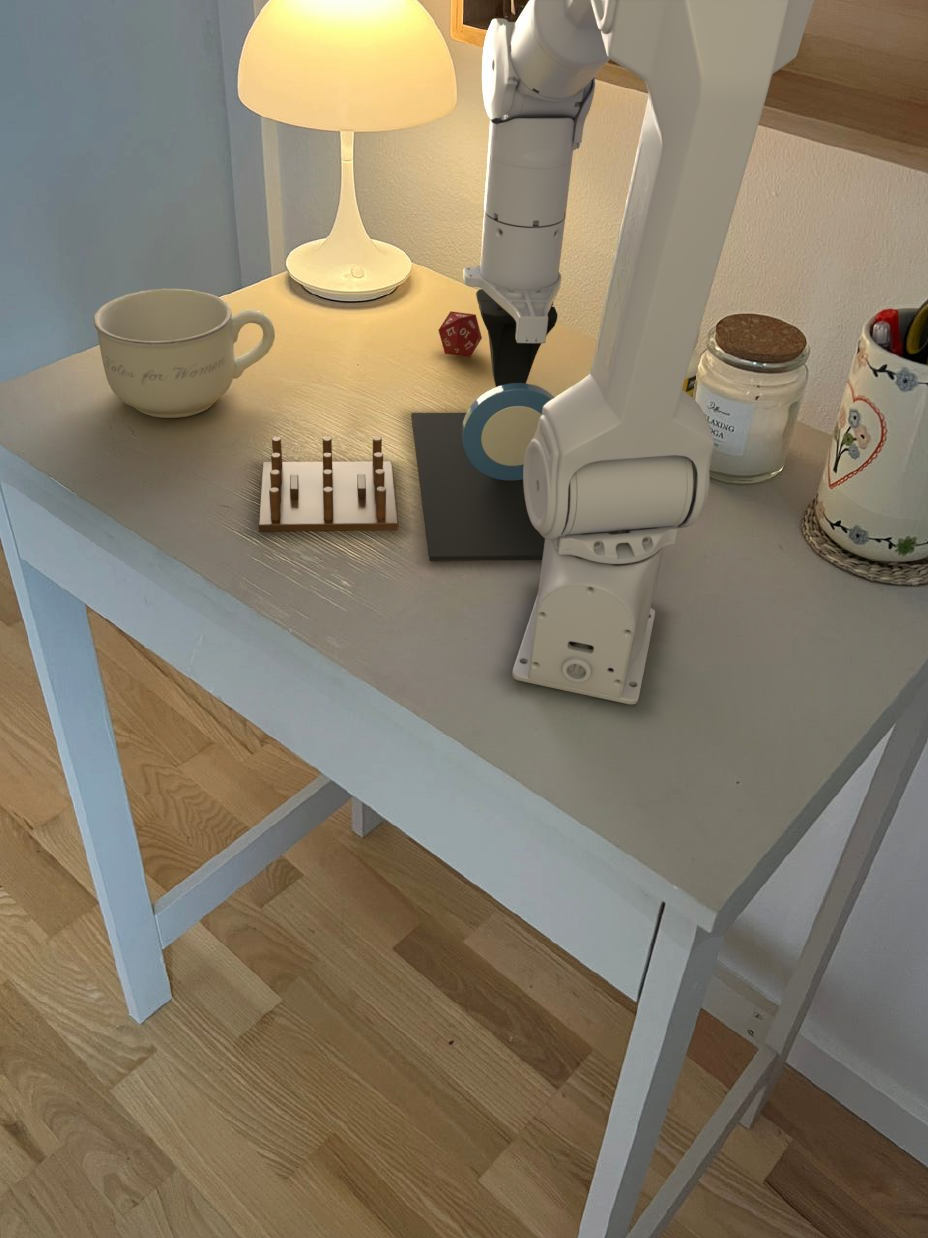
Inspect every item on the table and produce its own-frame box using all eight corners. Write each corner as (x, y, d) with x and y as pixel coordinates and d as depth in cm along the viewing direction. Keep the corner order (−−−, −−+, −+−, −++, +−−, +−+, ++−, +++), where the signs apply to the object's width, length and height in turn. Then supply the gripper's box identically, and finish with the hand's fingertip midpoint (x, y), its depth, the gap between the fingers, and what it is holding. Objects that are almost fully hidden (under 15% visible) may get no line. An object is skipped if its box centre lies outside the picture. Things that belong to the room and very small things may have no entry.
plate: (560, 482, 88) (575, 390, 83) (458, 480, 87) (467, 387, 82) (557, 474, 89) (573, 383, 84) (457, 472, 88) (466, 380, 83)
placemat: (622, 558, 82) (623, 553, 82) (429, 561, 80) (429, 556, 80) (574, 416, 97) (575, 412, 97) (411, 416, 95) (411, 412, 95)
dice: (482, 346, 106) (485, 305, 103) (475, 368, 103) (478, 326, 100) (443, 340, 106) (445, 300, 104) (434, 362, 103) (436, 321, 100)
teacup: (95, 431, 91) (79, 338, 86) (121, 366, 99) (108, 278, 94) (270, 436, 92) (265, 345, 86) (282, 372, 100) (278, 285, 95)
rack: (397, 529, 83) (398, 494, 81) (259, 531, 82) (256, 495, 80) (391, 467, 89) (392, 433, 87) (263, 468, 88) (260, 433, 86)
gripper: (457, 174, 84) (448, 343, 93) (479, 252, 73) (466, 435, 82) (551, 176, 85) (533, 343, 94) (586, 254, 74) (562, 435, 83)
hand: (508, 386), depth 88 cm, fingers closed
